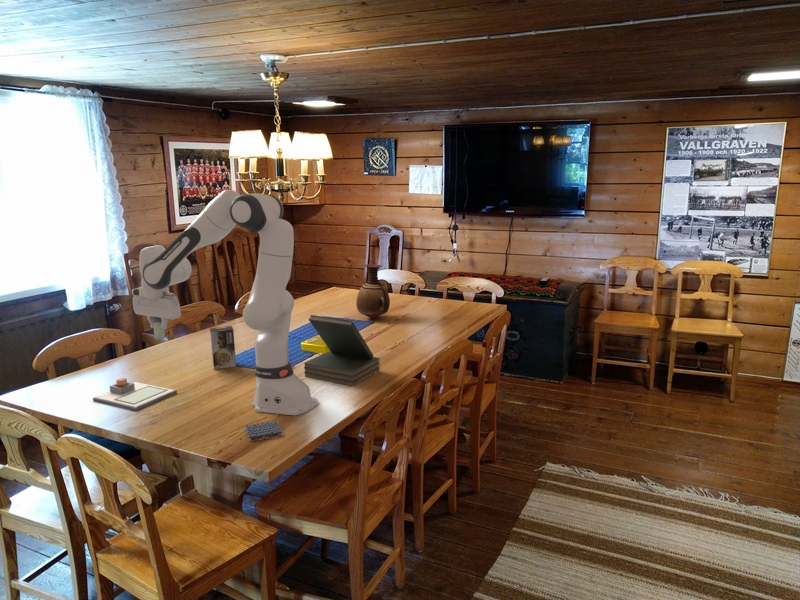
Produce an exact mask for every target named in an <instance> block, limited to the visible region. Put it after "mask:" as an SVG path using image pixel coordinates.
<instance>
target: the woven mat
mask: <svg viewBox="0 0 800 600" xmlns="http://www.w3.org/2000/svg"><path fill="white" fill-rule="evenodd" d="M244 427H245V428H244V431H245V434H247V438H248V440H247V441H248V442H255V441H262V440H267V439H273V438H279V437H283V436H284V433H283V430H282V428H281V426H280V423H279V422H278V421H277V420H273V419H272V420H270V421H268V420H267V421H265V422H263V421H261V422H256V423H251V424H249V425H248V423H246V425H245V426H244Z"/></svg>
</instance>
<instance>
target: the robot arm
mask: <svg viewBox="0 0 800 600" xmlns="http://www.w3.org/2000/svg"><path fill="white" fill-rule="evenodd" d="M284 213H285V211H284V205H283V203H282V201H281V199H279V198H278V197H277V196H274V195H272V194H269V193H267V194H264V193H263V194H262V193H257V192H256V193H254V192H253V193H249V194H246V193H245V194H240V193H239V192H237V191H236V190H232V189H224V190H223V191H221V192H220V193H218V195H216V196H215V197H214V198H213V199H212V200H210V202H208V204H207V205H206V206H205V207H204V208H203V209H202V211H201V212H200V213H199V214H198V216H197V217H196V218H194V220H193V221H192V222H191V223H190V225H188V226H187V228H185V229H184V231H182V232H181V234H179V235H178V236H177V237H176V238H175V239H174V240H173V241H172V242H171V243H170V245H168V246H167V247H166V248H165V247H164V246H163V245H159V244H158V245H153V246H147V247H144V248H142V249H140V252H139V256H138V258H139V263H138V264H139V272H140V275H141V282H140V286H139V287H135V288H132V290H131V294H132V296H133V297H132V308H133V311H134V314H136V315H139V316H146V319H147V321H148V323H149V325H150V328H152V329H154V327H153V317H159V318H161V321H162V324H161V325H160V329H162V330H164V331H165V330H167V328H168V326H167V325H168V322H169V320H177V319H180V318H181V317H182V312H181V311H182V310H181V305H180V302H179V299H178V296H177V295H176V294H175V293H173V292H169V290H170V289H169V287H171V286H173V285H177V284H179V283H183V282H185V281H187V280H189V279H190V278H191V276H192V273H193V267H192V264H191V262H190V260H189V259H188V258H187V257H189V255H190V254H192V253H193V252H195V251H197V250H199V249H201V248H203V247H207V246H210V245H213V244H217V243H219V242H220V241H221V240H222V239H224V238H225V237H227V236H228V234H229V233H230V232H232V230H233V229H234V228H236V227H235V226H239V227H241V228H243V229H246V230H247V231H249V232H250V233H253V234H256V233H258V235H259V247H258V257H257V265H256V266H257V267H256V272H255V276H254V281H253V283H252V287H251V290H250V294H249V296H248V300H247V303H246V304H245V306H244V308H243V309H242V310H243V311H242V319H243V321H244V323H245V325H246V326H247V327H248V328H250V329H252V330H254V331H257V335H256V338H255V341H254V353H255V364H254V374H255V377H256V378H255V379H256V380H255V391H254V398H253V402H252V405H253V406H254V407H255V408H254V409H255V410H254V411H255V412H256V413H257V412H258V413H268V414H277V415H288V416H298V415H302V414H305V413H307V412H308V411H310V410H312V409H314V408H315V407H316V406H317V405H318V403H319V400H318V398H316V397H312V396H311V395H312V394H311V389H310V386H309V385H307V383H305V382H304V381H303V380H302V379H301V378H299V376H297V375H296V374H295V373H294V370H295V369H296V365H293V366H292V364H291V362H290V361H289V360H290V359H289V333H290V328H291V320H292V312H293V309H294V305H295V300H294V297H293V295H292V294H291V292H289V291H288V290H286V289H287V285H288V282H289V281H290V279H291V273H292V265H293V257H294V245H295V242H294V240H295V237H294V235H295V234H294V233H295V232H294V227H293V225H292V224H291V223H290V222H289V221H288V220H285V219H283V216H284Z"/></svg>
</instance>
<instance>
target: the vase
mask: <svg viewBox="0 0 800 600" xmlns="http://www.w3.org/2000/svg"><path fill="white" fill-rule="evenodd" d="M364 267H365V268H366V269H367V271H368V279H367V281H366V283H364V284H362V286H361V287H360V289H359V290H358V293H357V297H356V310H357V311H358V313H359V314H362V316H366V317H368V318H370V319H371V318H375V319H376V318H378V317H380V316H382V315H385V314H387V313H388V311H389V310H390V305H391V300H390V294H389V291H388V288H387V287H386V286H385V283H382V282H380V281H379V276H378V272H379V269H380V268H381V267H383V265H381V264H375V263H370V264H369V263H368V264H364Z"/></svg>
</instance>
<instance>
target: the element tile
mask: <svg viewBox="0 0 800 600" xmlns="http://www.w3.org/2000/svg"><path fill="white" fill-rule="evenodd" d="M300 347H301V348H300V349H302V350H305V351H311V352H315V353H314V354H316V353H322V354H324V353H326V352H329V351H330V350H329V348H328V347H327V345H326V344H325V342H324V341H323V340H322V338H321V337H320V335H319V334H317V335H314V336H312V337H310V338H308V339H305V340H303V341H301V343H300ZM322 354H321V355H322Z"/></svg>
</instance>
